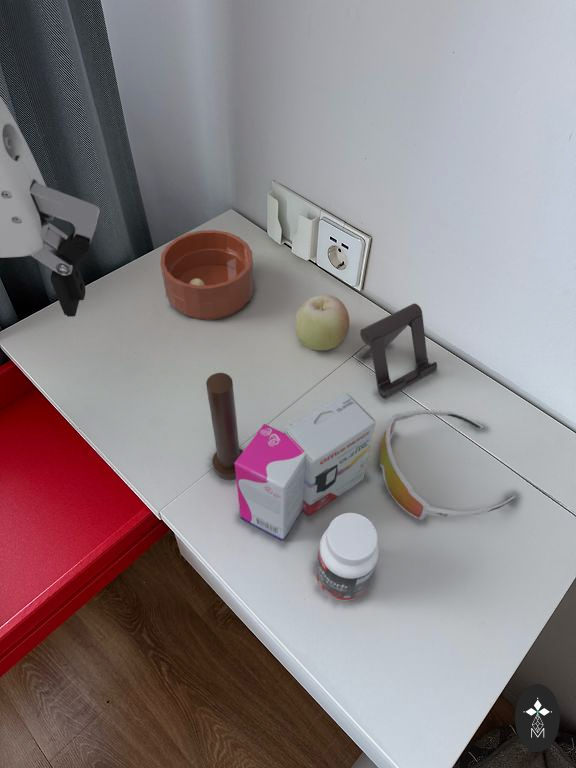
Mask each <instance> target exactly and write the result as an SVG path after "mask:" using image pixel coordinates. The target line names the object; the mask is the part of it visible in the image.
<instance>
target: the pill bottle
mask: <svg viewBox="0 0 576 768" xmlns="http://www.w3.org/2000/svg"><path fill="white" fill-rule="evenodd" d="M378 540H379V536H378V531H377V529H376V527H375V525H374V524H373V522H372V521H371V520H370V519H369V518H368V517H366V516H364V515H362V514H360V513H356V512H344V513H342V514H339V515H337V516H336V517H335V518H334V519H333V520H332V521H330V523H329V525H328V527H327V528H326V529H325V530H324V532H323V534H322V535H321V538H320V541H319V546H318V555H317V561H316V565H315V566H316V567H315V576H316V577H315V578H316V580H317V583H318V585H319V587H320V589H321V590H322V592H324V593H325V594H326V595H327V596H328V597H329V598H331V599H334V600H337V601H342V602H348V601H352V600H355V599H357V598H359V597H361V596H362V595H363V594H364V593H365V592H366V591H367V589H368V587H369V585H370V583H371V580H372V577H373V575H374V571H375V568H376V565H377V563H378V560H379V555H380V549H379V542H378Z"/></svg>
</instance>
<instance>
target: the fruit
mask: <svg viewBox="0 0 576 768" xmlns="http://www.w3.org/2000/svg"><path fill="white" fill-rule="evenodd" d="M349 315H350V314H349V312H348V309H347V307H346V306H345V304H344V303H343V301H341V299H339V298H337V297H336V296H334V295H330V294H320V295H315V296H313V297H310V298H308V299H306V301H304V302H303V304H301V305H300V307H299V309H298V310H297V313H296V316H295V320H294V329H295V332H296V336H297V338H298V340H299V342H300V343H301V344H302V345H303V346H304V347H306V348H308V349H311V350H315V351H329V350H332V349H335V348H337V347H338V346H339V345H341V344H342V343H343V341H344V340H345V339H346V337H347V335H348V333H349V329H350V316H349Z"/></svg>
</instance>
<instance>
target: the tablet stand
mask: <svg viewBox="0 0 576 768" xmlns="http://www.w3.org/2000/svg"><path fill="white" fill-rule="evenodd" d="M423 316H424V315H423V311H422V308H421V306H420V305H419V304H417V303H415V302H414V303H412V304H410V305H408V306H405V307H404V308H401V309H400V310H398V311H395V312H393V313H392V314H389V315H388V316H385V317H384V318H381V319H379V320H378V321H375V322H373V323H371V324H369V325H367V326H366V327H363V328H361V329H360V331H359V336H360V339H361V341H362V342H363V343H364V344H365V345H367V346H368V347H369V348H368V349H367V351H366V352H365V353H364V354H363V355H362V356H361V357H360V358H361V359H362V360H364V359H365V358H367V357H369V356H371V357H372V362H373V369H374V375H375V381H376V387H377V392H378V394H379V396H380V397H381V398H382V399H384V400H387V399H389V398H390V397H392V396H394V395H396V394H398V393H399V392H401V391H403V390H405V389H406V388H408V387H410V386H411V385H414V384H416V383H417V382H419V381H421V380H423V379H424V378H426V377H428V376H429V375H432V374H433V373H435V372H437V370H438V369H437V368H438V362H437V361H434V362H432V363H430V362H429V358H428V352H427V343H426V334H425V325H424V317H423ZM408 326H409V328H410V330H411V338H412V346H413V356H414V362H415V369H413V370H411V371H410V372H407V373H406V374H404V375H402V376H401V377H399V378H397V379H395V380H393V381H391V378H390V373H389V366H388V360H387V354H386V347H388V346H389V345H390V344H391V343H392V342H393V341H394V340H395V339H396V338H397V337H398V336H399V335H400V334H401V333H402V332H403V331H404V330H405V329H406V328H407V327H408Z"/></svg>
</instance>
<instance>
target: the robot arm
mask: <svg viewBox="0 0 576 768" xmlns="http://www.w3.org/2000/svg"><path fill="white" fill-rule="evenodd" d="M100 214H101V209H100V208H99V207H98V206H97V205H96V204H93V203H92V202H88V201H86V200H84V199H81V198H78V197H75V196H72V195H71V194H67V193H64V192H61V191H60V190H57V189H54V188H51V187H48V186H47V184H46V182H45V180H44V178H43V175H42V173H41V171H40V169H39V166H38V164H37V162H36V160H35V157H34V155H33V153H32V151H31V149H30V147H29V145H28V143H27V140H26V139H25V136H24V135H23V133H22V132H21V129H20V128H19V125H18V124H17V122H16V120H15V118H14V116H13V115H12V113H11V112H10V110H9V108H8V106H7V105H6V103H5V101H4V100H3V98H2V97H1V96H0V259H1V258H2V259H5V258H23V257H29V256H30V257H32V258H33V259H35V260H36V261H38V262H40V263H41V264H42V265H44V266H46V267H47V268H49V269H50V270H52V272H51V274H50V283H51V285H52V287H53V290H54V292H55V294H56V298H57V299H58V302H59V305H60V307H61V309H62V313H63V314H64V316H67V317H68V318H69V317H70V318H71V317H72V318H73V317H76V315H77V311H78V307H79V303H80V301H84V300H85V297H86V285H85V281H84V278H83V276H82V273H81V270H80V267H79V262H80V261H81V260H82V259H83V258H84V256H85V255H86V254H87V253H88V252H89V250H90V247H91V244H92V241H93V238H94V235H95V231H96V229H97V225H98V223H99V219H100ZM54 218H57V219H59V220H61V221H65V222H67V223H70V224H72V225H73V227H74V229H73V231H72V232H71V233H70V234H69V235H67V234H66V233H64V232H63V231H62V230H60V229H59V228H58V227H56V226H55V225H53V224H52V223H50V222H49V221H54V220H55V219H54ZM45 242H46V243H47V244H46V243H45ZM51 246H52V247H53V248H52V247H51Z"/></svg>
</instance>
